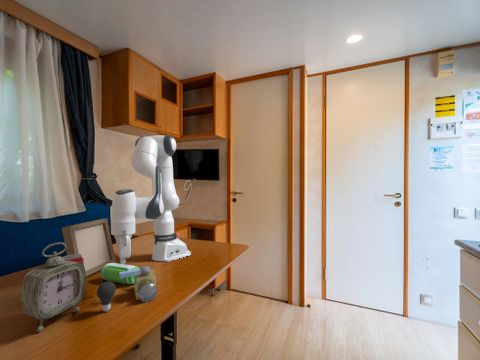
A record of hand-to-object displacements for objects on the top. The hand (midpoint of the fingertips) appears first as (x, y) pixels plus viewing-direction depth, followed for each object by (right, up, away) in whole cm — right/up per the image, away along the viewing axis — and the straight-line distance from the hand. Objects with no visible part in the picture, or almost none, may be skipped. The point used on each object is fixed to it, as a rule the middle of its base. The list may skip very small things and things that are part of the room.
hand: (122, 263), depth 91 cm
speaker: (-6, -12, +10) cm, 17 cm away
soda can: (-20, -12, -1) cm, 23 cm away
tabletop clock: (-13, -12, -18) cm, 25 cm away
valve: (+10, -12, -1) cm, 15 cm away
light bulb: (+1, -12, -13) cm, 18 cm away
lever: (+7, -3, -3) cm, 8 cm away
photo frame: (-29, -12, +21) cm, 38 cm away
